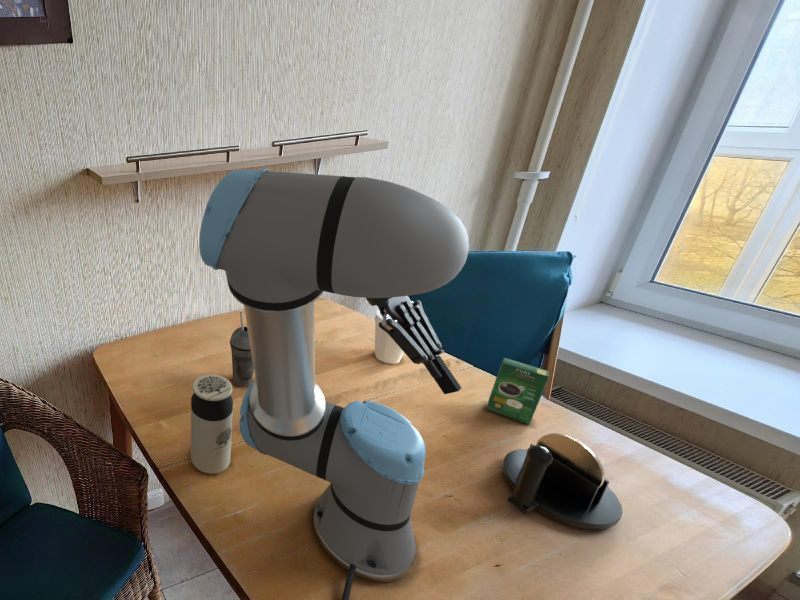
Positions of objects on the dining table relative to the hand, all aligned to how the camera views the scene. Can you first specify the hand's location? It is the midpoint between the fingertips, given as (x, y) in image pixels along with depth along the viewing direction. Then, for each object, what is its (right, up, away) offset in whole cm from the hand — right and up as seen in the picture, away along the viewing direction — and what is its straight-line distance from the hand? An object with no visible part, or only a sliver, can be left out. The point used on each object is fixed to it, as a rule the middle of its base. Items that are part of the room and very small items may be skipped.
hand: (452, 391), depth 78 cm
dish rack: (+16, -17, -2) cm, 24 cm away
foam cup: (+9, -3, +40) cm, 41 cm away
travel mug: (-44, -17, +8) cm, 47 cm away
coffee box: (+25, -11, +18) cm, 33 cm away
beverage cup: (-33, -7, +31) cm, 46 cm away
